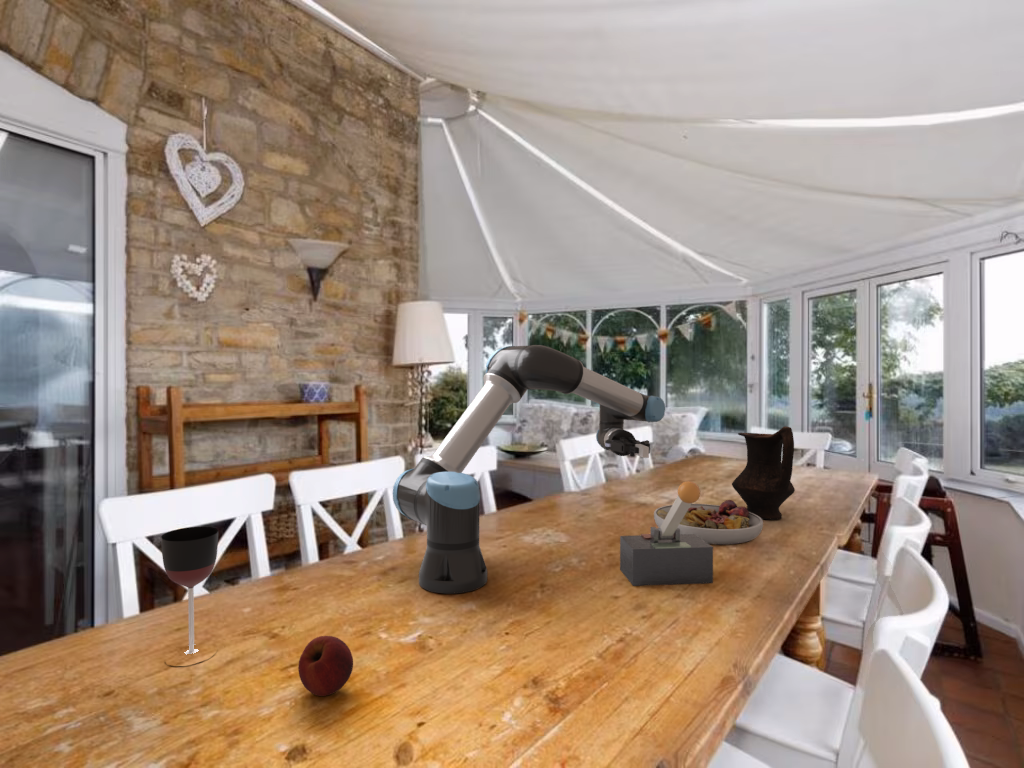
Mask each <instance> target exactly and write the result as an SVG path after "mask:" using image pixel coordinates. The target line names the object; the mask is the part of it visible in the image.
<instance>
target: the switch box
mask: <svg viewBox="0 0 1024 768" xmlns="http://www.w3.org/2000/svg"><path fill="white" fill-rule="evenodd" d="M657 528H658V527H655V526H651V527H650V533H641V534H639V535H619V539H620V540H619V544H620V545H619V570H620V571H621V573H622V574H623V575H624V577H625V578H626V579H627V580H628V581H629V582H630V584H631V585H632V587H635V586H636V587H639V586H664V585H665V586H667V585H671V586H672V585H696V584H700V585H701V584H714V583H713V582H714V546H712V544H708V543H706V542H705V541H704V540H702V539H701V538H699V537H698V536H696V535H695V534H680V529H679V528H677V529H676V531H675V532H674V537H673V539H661V540H659V539H658V529H657Z"/></svg>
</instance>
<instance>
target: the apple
mask: <svg viewBox="0 0 1024 768" xmlns="http://www.w3.org/2000/svg"><path fill="white" fill-rule="evenodd" d="M299 657H300V658H299V660H298V667H297V668H298V676H299V679H300V681H301V684H302V685H303V687H304V688H305V689H306V690H307V691H308V692H310V693H311V694H312V695H315V696H319V697H324V696H325V697H326V695H327V696H329V695H332V694H334V692H335V693H336V692H338V691H339V690H340V689H342V688H343V686H345V685H346V683H347V682H348V681H349V679H350V678H351V675H352V673H353V668H354V658H353V654H352V652H351V649H350V647H348V645H347V644H346V643H345V642H344V641H343V640H342V639H340V638H339V637H336V636H332V635H321V636H317V637H315V638H313V639H312V640H310V641H309V642H308V644H307V645H306V646H304V649H303V650H302V652H301V654H300V656H299Z"/></svg>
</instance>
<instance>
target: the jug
mask: <svg viewBox="0 0 1024 768" xmlns="http://www.w3.org/2000/svg"><path fill="white" fill-rule="evenodd" d="M737 435H739V436H741V437H743V438H744V440H745V445H746V459H747V460H746V465H745V467H744V469H743V470H742V471H741V472H740V473H739V474H738V476H737V477H736V478H734V480H733V481H732V482H731V486H732V488H733V489H734V490H735V492H736V493H737V494H738V495H739V497H740V498H741V499H742V501H744V503H745V504H746V509H747V510H748V512H751V513H753V514H755V515H757V516H759V517H760V518H761V519H762V520H773V521H774V520H781V519H782V518H783V517H782V515H783V514H782V512H780V507H781V505H783V503H784V502H786V501H787V500H788V498H789V497H791V496H792V495H793V494H794V493H795V490H796V489H795V487H794V485H793V482H792V481H791V480H792V475H793V464H794V461H793V460H794V454H795V440H794V432H793V429H792V427H791V426H783V427H781V428H780V429H779V430H778V431H776V432H775V433H757V432H756V433H755V432H738V433H737Z"/></svg>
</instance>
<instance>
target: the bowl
mask: <svg viewBox="0 0 1024 768" xmlns="http://www.w3.org/2000/svg"><path fill="white" fill-rule="evenodd" d="M672 505H673V504H669V505H663V506H660V507H657V508H656V509H655V510H654V511H653V518H654V521H655V524H656V526H657V528H660V527H661V525H662V523H663V521H664V520H665V518H666V516H667V514H668V512H669V511H670V509H671V507H672ZM763 520H764V519H761V518H760V517H759V516H757V515H755V514H753V513H751V512H748V510H747V507H745V506H737V503H736V502H735V501H734V500H732V499H727V500H724V502H722V503H721V504H720V505H719V504H718V505H717V504H708V503H692V504H691V506H690V507H689V509H688V511H687V512H686V514H685V516H684V517H683V519H682V521H681V522H680V524H679V526H678V527H677V528H679V529H680V534H695V535H696V536H698V537H699V538H701V539H702V540H704V541H705V542H706V543H708V544H709V545H736V544H743V543H747V542H750V541H752V540H754V539H756V538H757V537H758V536H759V535H760V534H761V533H762V530H763V526H764V521H763Z"/></svg>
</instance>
